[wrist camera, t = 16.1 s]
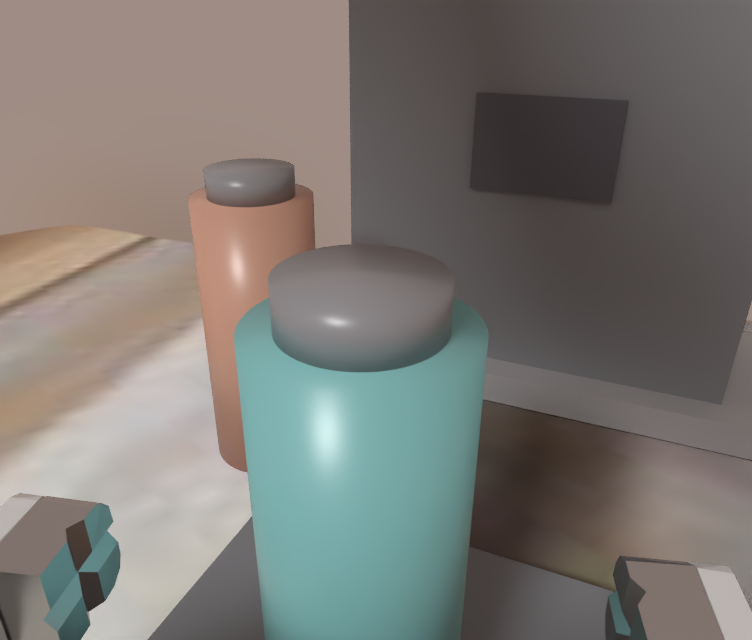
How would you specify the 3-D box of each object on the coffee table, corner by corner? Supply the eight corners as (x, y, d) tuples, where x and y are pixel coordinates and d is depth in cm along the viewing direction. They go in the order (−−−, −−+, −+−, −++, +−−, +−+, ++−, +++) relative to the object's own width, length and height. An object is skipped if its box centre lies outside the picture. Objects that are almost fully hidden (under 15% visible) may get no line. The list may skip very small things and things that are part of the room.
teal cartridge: (238, 761, 15) (170, 302, 10) (325, 613, 19) (309, 222, 14) (416, 850, 14) (447, 360, 8) (473, 670, 17) (519, 252, 12)
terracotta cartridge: (197, 456, 27) (156, 174, 22) (256, 403, 31) (233, 151, 26) (289, 485, 25) (269, 188, 20) (339, 425, 29) (333, 161, 24)
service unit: (307, 359, 35) (290, -1, 27) (379, 292, 43) (382, 2, 35) (767, 463, 27) (926, -1, 19) (746, 357, 35) (852, 2, 27)
